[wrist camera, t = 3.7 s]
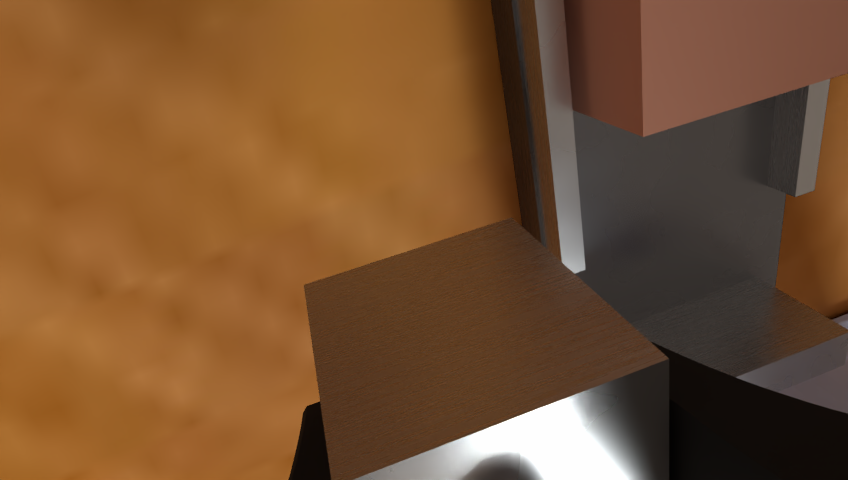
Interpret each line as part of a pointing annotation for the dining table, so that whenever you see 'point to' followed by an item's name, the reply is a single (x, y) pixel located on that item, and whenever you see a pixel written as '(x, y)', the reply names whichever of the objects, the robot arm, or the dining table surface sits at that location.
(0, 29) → the dining table surface
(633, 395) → the housing
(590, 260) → the press bed
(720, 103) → the tall terracotta prism
